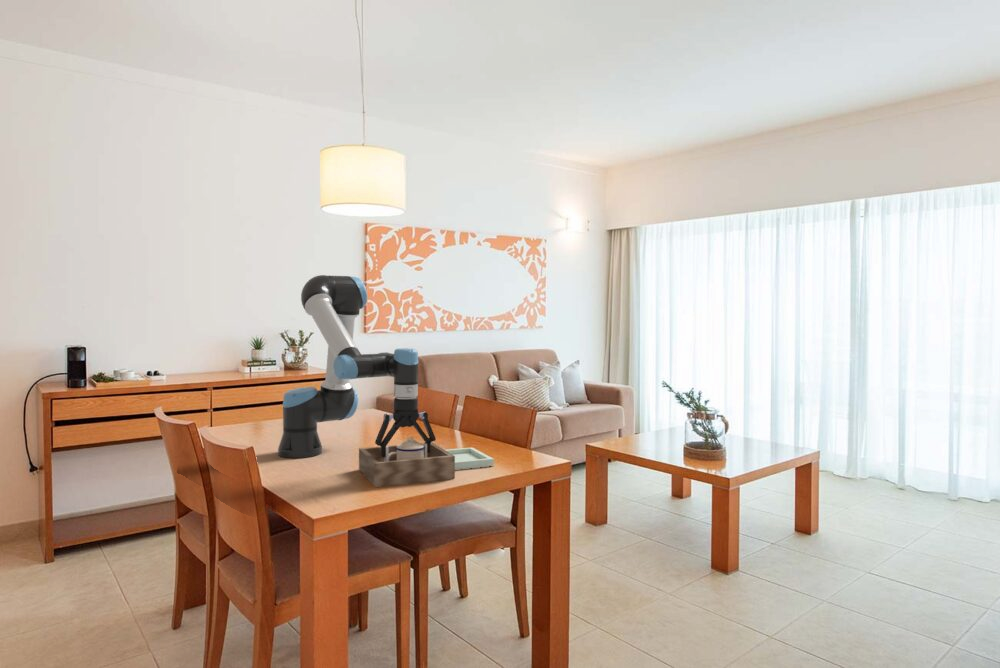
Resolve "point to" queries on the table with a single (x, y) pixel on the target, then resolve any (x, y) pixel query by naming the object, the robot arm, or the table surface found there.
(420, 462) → the deep box
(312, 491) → the table surface
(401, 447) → the teacup with lid
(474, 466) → the tray
